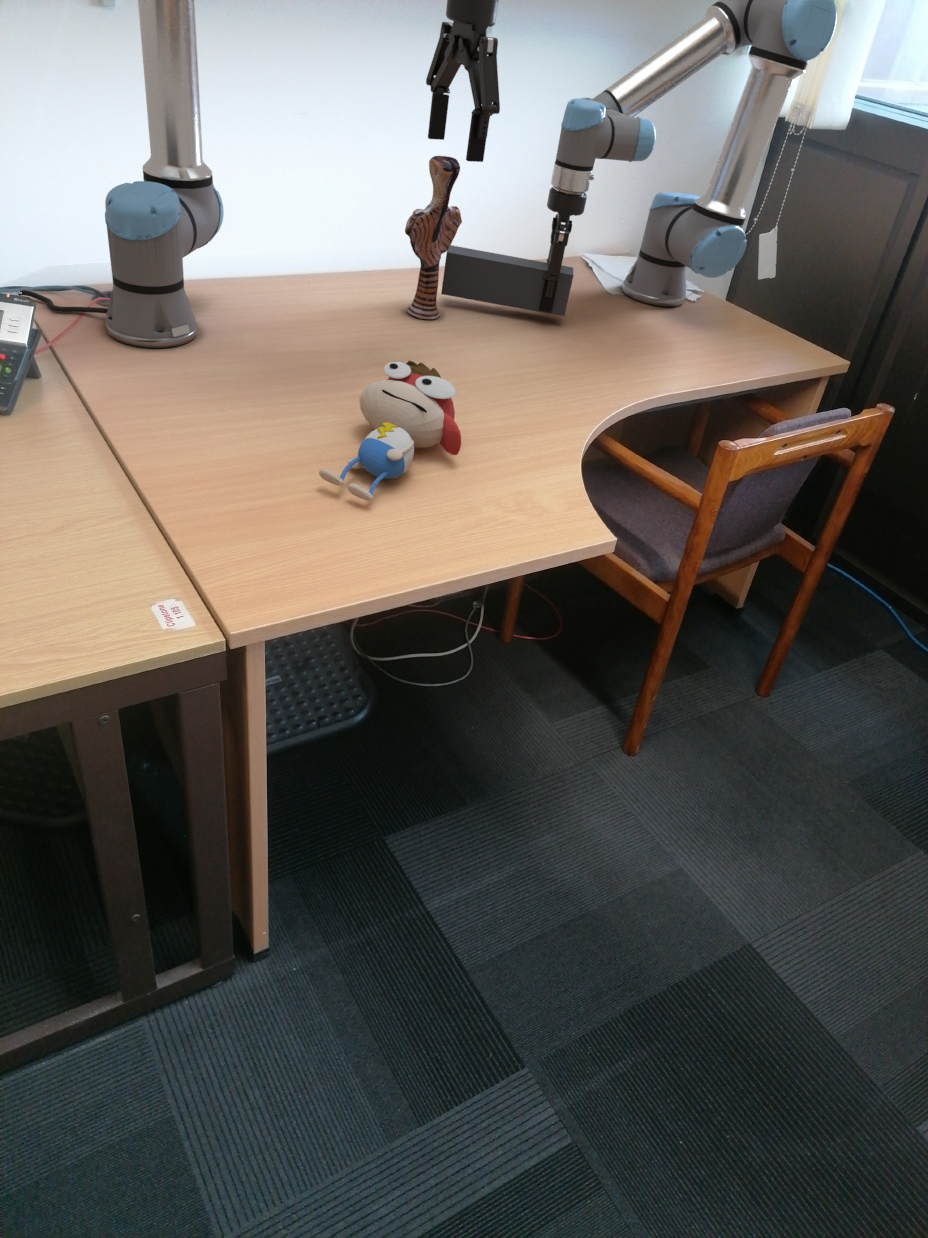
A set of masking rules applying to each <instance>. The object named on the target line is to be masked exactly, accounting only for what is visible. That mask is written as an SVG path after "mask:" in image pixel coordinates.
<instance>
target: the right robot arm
mask: <svg viewBox="0 0 928 1238" xmlns="http://www.w3.org/2000/svg"><path fill="white" fill-rule="evenodd" d="M837 18H838V9H837V6H836V3H835V0H717V1H716V2H715V3H713V4H712V5H711V6H709V7H708V8H707V9H706V11H705V14H704V17H703V18H702V19H701V20H699V21H697V22H696V23H695V24H694V25H692V26H691V27H689V28H688V29H686V30H685V31H684V32H683V33H681V34H679V35H678V36H677V37H676V38H674V39H673V40H671V41H670V42H669V43H667V44H666V45H664V46H663V47H662V48H661V49H659V50H657V51H656V52H655V53H653V55H651V56H650V57H648V58H646V59H645V60H644V61H643V62H641V63H640V64H639V65H636V67H634V68H633V69H632V70H630V71H629V72H627V74H625V75H624V76H622V77H621V78H620V79H618V80H616V81H615V82H614V83H612V84H611V85H609V87H607V88H606V89H604V90H603V91H602V92H600V93H599V94H597V95H596V96H594V97H593V98H591V97H580V98H571V99H570V100H569V101H567V103H566V106H565V110H564V113H563V118H562V122H561V124H560V127H561V128H560V133H559V140H558V145H557V150H556V155H555V161H554V164H553V170H552V174H551V179H550V184H551V188H549V192H548V197H547V202H546V207H547V209H549V211H552V212H554V213H556V214H555V217H554V216H553V217H552V221H551V233H550V246H549V251H548V256H547V258H546V263H549V265H548V271H547V275H546V277H542V280H545V281H544V286H543V291H542V296H541V302H540V307H539V311H544V312H550V313H552V308H553V303H554V298H555V293H556V289H557V284H558V281H559V275H560V270H561V265H562V266H563V259H564V255H565V250H566V247H567V246H568V243H569V237H570V234H571V233H572V228H573V220H571V216H581V215H583V214H584V212H585V208H586V203H587V198H588V195H587V192H588V191H589V188H590V183H591V182H590V181H594V180H595V175H593V174H592V173H593V170H594V166H595V164H596V163H595V162H596V159H598V160H612V161H622V162H623V161H624V162H628V163H632V162H644V161H645V160H647V159H648V158H649V157H650V156H651V155H652V153H653V151H654V148H655V144H656V139H657V133H656V132H657V131H656V127H655V124H654V123H653V122H652V121H651V120H650V119H648V118H642V117H641V116H637V115H638V114H640V113H641V112H643V111H644V110H645V109H647V108H648V107H650V106H651V105H653V103H655V102H657V101H659V99H661V98H662V97H664V96H665V95H666V94H668V93H669V92H671V91H672V90H673V89H675V88H676V87H677V86H679V85H681V84H682V83H684V81H687V79H689V78H690V77H692V76H693V75H694V74H696V73H697V72H699V71H700V70H701V69H703V68H704V67H706V66H707V65H709V64H710V63H711V62H712V61H715V59H717V58H718V57H719V56H721V55H722V56H730V55H732V54H733V53H734V52H735V51H737V50H738V49H741V48H743V47H747V46H750V49H749V52H748V55H747V57H748V59H749V61H750V65H751V66H750V67H751V68H750V71H749V73H748V76H747V80H746V82H745V84H744V87H743V90H742V93H741V95H740V98H739V101H738V103H737V105H736V108H735V111H734V115H733V117H732V119H731V123H730V125H729V128H728V131H727V132H726V135H725V138H724V141H723V144H722V146H721V149H720V152H719V155H718V158H717V160H716V163H715V166H714V168H713V170H712V174H711V176H710V179H709V183H708V184H707V188H706V190H705V192H704V193H703V195H701V196H700V195H696V194H693V193H692V194H691V193H685V192H676V191H661V192H658V193H656V194H655V195H654V197H653V200H652V202H651V205H650V207H649V211H648V215H647V220H646V224H645V228H644V231H643V232H644V233H643V236H642V240H641V244H640V249H639V252H638V256H637V258H636V260H635V261H634V263H633V265H632V266H631V267H630V269H629V270H628V274H627V275H626V277H625V278H624V279H623V284H622V288H621V290H622V291H623V293H624V294H625V295H626V296H628V297H630V298H631V299H633V300H635V301H638V302H641V303H644V304H647V305H651V306H658V307H666V308H669V307H670V308H673V307H679V306H682V305H684V304H685V301H686V297H687V268H688V269H690V270H691V271H692V272H693V273H694V274H698V275H701V276H703V277H704V278H710V279H712V278H713V279H714V278H719V277H722V276H724V275H726V274H727V272H730V271H732V270H733V269H734V268H735V267H736V266H737V265H738V264H739V262H740V261H741V260H742V258H743V256H744V255H745V251H746V249H747V241H748V240H747V239H746V238H747V237H746V233H745V231H744V229H743V227H744V224H745V222H746V219H747V213H746V211H745V208H744V206H745V203H746V200H747V198H748V196H749V193H750V190H751V187H752V186H753V183H754V180H755V177H756V175H757V173H758V170H759V168H760V165H761V162H762V160H763V157H764V154H765V152H766V150H767V147H768V145H769V142H770V140H771V137H772V134H773V132H774V130H775V127H776V124H777V121H778V120H779V116H780V114H781V112H782V110H783V107H784V105H785V102H786V99H787V96H788V95H789V93H790V90H791V86H792V84H793V81H794V80H795V79H796V78H797V77H800V76H801V75H802V74H805V73H806V70H807V67H808V65H809V62H810V61H811V60H813V59H816V58H818V57H819V56H820V55H821V53H822V52H824V51H825V50H826V49H827V48H828V46H829V44H830V42H831V41H832V39H833V36H834V34H835V30H836V26H837V20H838V19H837Z"/></svg>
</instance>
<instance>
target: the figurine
mask: <svg viewBox="0 0 928 1238" xmlns="http://www.w3.org/2000/svg"><path fill="white" fill-rule="evenodd" d="M428 171H429V176H430V179H431V182H432V196H431V197H432V199H431V200H430V202H429V204H427V205H426V206H425V208H416V209H414V210H413V212H412V214H410V216H409V218H408V219H407V221H406V223H405V224H406V225H405V228H404V233H405V235H407V236H408V237H409V242H410V247H411V248H412V251H413V253H414V254H415V255H414V256H416V257H417V258H418V259H419V262H420V269H419V273H418V278H417V279H418V280H417V285H416V291H415V294H414V297H413V299H412V302H411V303H410V305H409V306H408V307H407V308H406V311H407V314H409V315H411V316H413V317H416V318H418V319H421V320H422V319H423V320H436V319H438V318H439V317H441V312H440V311H439V309H438V307H437V296H438V290H439V289H438V288H439V277H440V262H441V258H442V255H443V254H444V253H447V250H448V249H449V247H450V245H452V243H453V241H454V239H455V237H456V235H457V233H458V230H459V228H460V226H461V224H462V223H463V220H462V216H461V214H462V213H461V210H460V208H459V207H458V206H456V205H451V206H449V203H450V198H451V194H452V191H453V188H454V185H455V183H456V181H457V179H458V178H459V175H460V171H461V165H460V163H459V161H458V159H457V158H455V157H452V156H446V155H434V156H432V157H431V158H430V159H429V161H428Z"/></svg>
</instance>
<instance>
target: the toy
mask: <svg viewBox="0 0 928 1238" xmlns="http://www.w3.org/2000/svg"><path fill="white" fill-rule="evenodd" d="M383 373H384V374H385V375H386V376H387V377H388V378H387V379H382V380H381V379H380V380H375V381H373V382H371V383H369V384H367V385H366V386H365V387H364V388H363V389H362V391H361V393H360V396H359V397H358V398H359V407H360V411H361V414H362V416H363V417H364V419H365V420H366V422H367V423H368V424H369V426H371V427H372V428H373V430H372V431H371V432H369V433H368V434H367V435H366V436H365V438H364V439H363V440H362V441H361V443H360V445H359V448H358V451H357V456H356V457H351V458H349V459H348V460H347V464H346V465H345V467H344V468H343V470H342V471H341V473H340V475H337V474H336V473H334V472H333V471H331V470H329V469H326V468H320V469H319V471H318V476H319V477H320V478H321V479H323V480H324V481H325V482H328V483H329V484H331V485H333V486H334V485H335V486H341V487H342V486H344V485H345V481H344V480H345V477H346V476H347V473H348V472H349V471H350V469H355V470H358V469H361V468H363V469H364V470H365V471H366V472H367V473H369V474H371V475H373V476H374V477H376V478H375V480H373V482H372V484H371V485H370V487H369V490H366V489H365V488H363V487H361V486H360V485H357V484H356V483H350V484H348V485H347V490H348V492H349V493H350V494H352V495H353V496H355V497H357V498H358V499H361V500H364V501H367V502H368V501H373V500H374V496H373V495H374V492H375V489H376V488H377V486H378V484H379V483H380V482H381V481H382V480H391V479H396V478H398V477H400V476H403V474H404V473H406V472H407V471H408V469H409V468H410V466H411V465H412V462H413V459H414V455H415V449H418V448H419V449H420V448H431V447H433V446H435V445H437V444H440V445H441V447H442V448H443V449H444V450H445V451H446V453H448V454H450V455H451V456H458V454H459V453H460V451H461V447H462V434H461V431H460V428H459V426H458V424H457V422H456V421H455V418H456V417H455V415H456V411H455V405H454V401H453V399H452V398H453V397H455V395H456V394H457V390H456V388H455V386H454V385H453V384H452V383H451V382H449V381H448V380H447V379H444V378H442V377H441V375H440V373H439V372H438V370H437V369H436V368H435V367H433V368H432V367H431V369H430V368H429V367H428V366H427V365H425V363H423V362H419V363H416V362H415V361H412V360H408V361H407V362H403V361H392V362H388V363H387V364H385V365H384V367H383Z"/></svg>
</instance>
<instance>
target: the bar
mask: <svg viewBox="0 0 928 1238" xmlns="http://www.w3.org/2000/svg"><path fill="white" fill-rule="evenodd" d="M548 265H549V263H547V261H546V262H545V261H539V260H534V259H529V258H523V257H517V256H512V255H507V254H501V253H496V252H490V251H484V250H480V249H479V250H478V249H473V248H469V247H463V246H458V245H452V244H451V245H450V247H449V249H448V250H447V251H446V255H445V262H444V270H443V278H442V283H441V284H442V285H441V294H440V295H445V296H449V297H454V298H460V299H466V300H471V301H477V302H483V303H488V304H493V305H499V306H504V307H510V308H515V309H521V310H527V311H532V312H538V313H544V314H547V315H549V314H550V315H554V316H559V317H565V316H566V311H567V306H568V303H569V298H570V293H571V289H572V285H573V279H574V267H572V266H566V265H563V264H562V265H561V270H560V275H559V281H558V284H557V289H556V293H555V298H554V303H553V308H552V313H550V312H544V311H539V307H540V302H541V296H542V291H543V286H544V281H545V280H542V277H546V275H547V271H548Z"/></svg>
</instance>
